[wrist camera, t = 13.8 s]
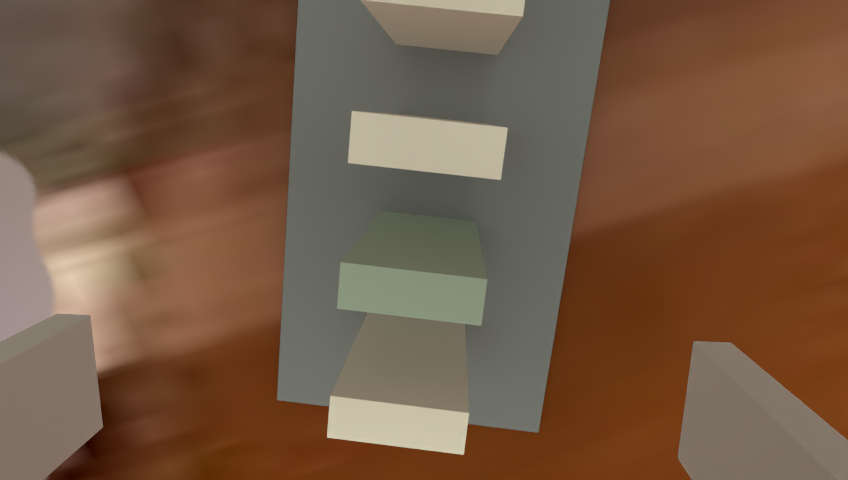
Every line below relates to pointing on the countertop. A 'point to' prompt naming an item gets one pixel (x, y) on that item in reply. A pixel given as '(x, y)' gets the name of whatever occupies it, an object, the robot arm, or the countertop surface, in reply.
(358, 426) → the ivory domino
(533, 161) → the domino mat
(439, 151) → the ivory domino
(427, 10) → the ivory domino
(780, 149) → the countertop surface
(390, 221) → the sage domino
